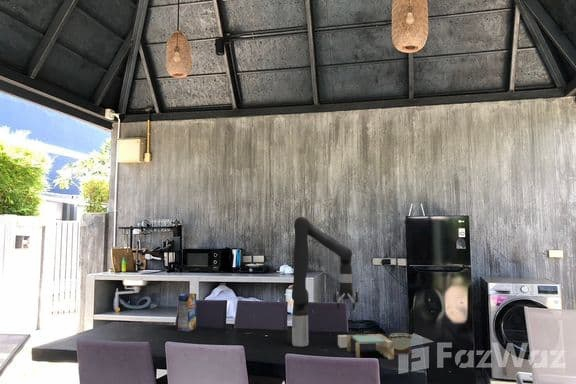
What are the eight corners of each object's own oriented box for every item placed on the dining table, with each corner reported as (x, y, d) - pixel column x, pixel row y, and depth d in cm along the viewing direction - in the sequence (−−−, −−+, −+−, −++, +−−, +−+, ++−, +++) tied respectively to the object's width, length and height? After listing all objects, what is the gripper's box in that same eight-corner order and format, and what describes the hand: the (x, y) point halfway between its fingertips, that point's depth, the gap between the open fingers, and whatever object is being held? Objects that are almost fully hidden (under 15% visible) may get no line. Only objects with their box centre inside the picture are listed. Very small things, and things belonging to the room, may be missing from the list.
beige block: (340, 347, 245) (339, 336, 245) (338, 345, 250) (337, 335, 250) (348, 347, 245) (348, 336, 246) (346, 345, 250) (346, 334, 251)
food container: (409, 351, 236) (408, 332, 237) (412, 354, 230) (411, 334, 231) (386, 351, 236) (386, 332, 237) (390, 354, 230) (389, 335, 231)
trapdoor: (359, 343, 222) (359, 341, 222) (352, 337, 236) (352, 336, 236) (385, 342, 224) (385, 340, 224) (376, 337, 237) (376, 335, 238)
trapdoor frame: (356, 360, 218) (356, 343, 219) (346, 350, 238) (346, 334, 239) (394, 359, 220) (393, 342, 221) (381, 349, 240) (380, 333, 241)
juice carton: (186, 327, 304) (187, 293, 307) (195, 328, 303) (196, 293, 305) (177, 331, 293) (178, 295, 296) (187, 331, 291) (188, 295, 294)
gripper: (334, 281, 250) (334, 310, 248) (358, 282, 250) (358, 310, 248) (333, 280, 257) (332, 308, 255) (356, 281, 257) (356, 308, 255)
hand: (345, 309), depth 252 cm, fingers open, 8 cm apart
